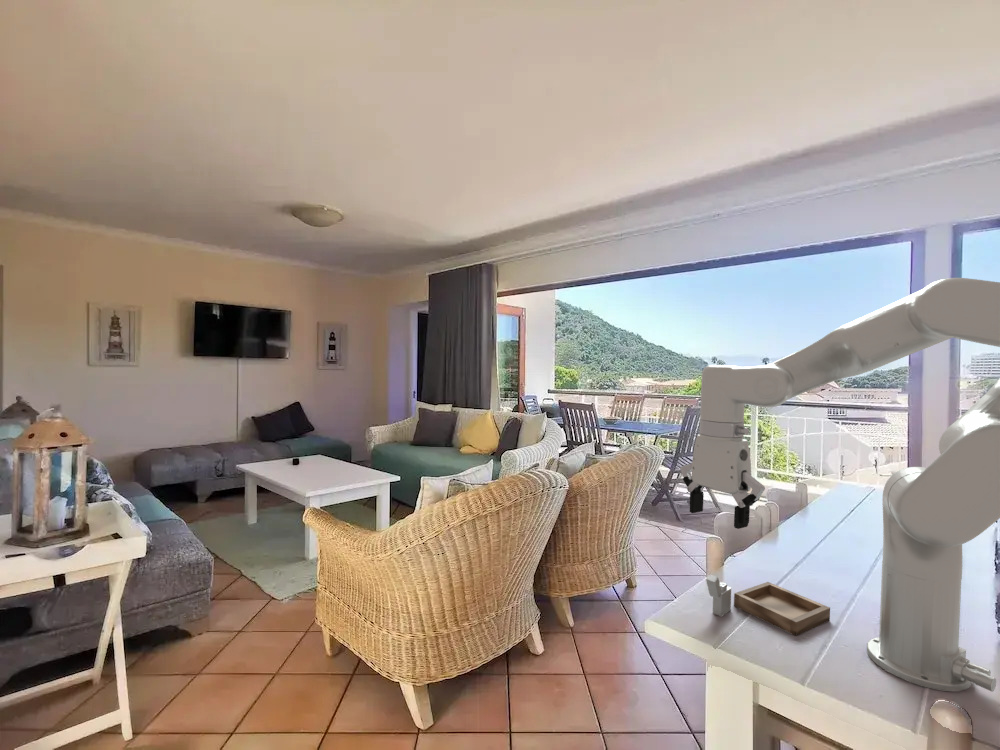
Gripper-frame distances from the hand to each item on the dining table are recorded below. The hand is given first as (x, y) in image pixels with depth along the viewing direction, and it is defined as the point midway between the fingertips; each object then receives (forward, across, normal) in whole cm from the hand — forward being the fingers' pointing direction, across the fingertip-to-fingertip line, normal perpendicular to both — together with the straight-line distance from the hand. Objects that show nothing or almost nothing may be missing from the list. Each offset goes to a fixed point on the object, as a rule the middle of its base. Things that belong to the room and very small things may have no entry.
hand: (717, 519), depth 93 cm
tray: (+18, -6, -11) cm, 22 cm away
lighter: (+18, -1, 0) cm, 18 cm away
